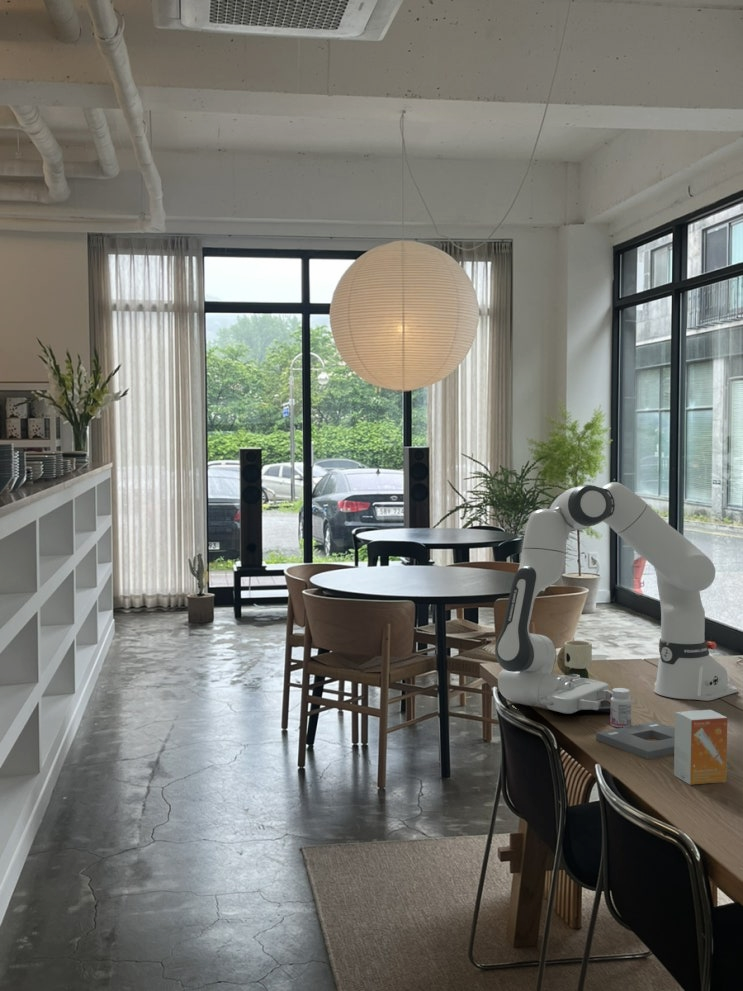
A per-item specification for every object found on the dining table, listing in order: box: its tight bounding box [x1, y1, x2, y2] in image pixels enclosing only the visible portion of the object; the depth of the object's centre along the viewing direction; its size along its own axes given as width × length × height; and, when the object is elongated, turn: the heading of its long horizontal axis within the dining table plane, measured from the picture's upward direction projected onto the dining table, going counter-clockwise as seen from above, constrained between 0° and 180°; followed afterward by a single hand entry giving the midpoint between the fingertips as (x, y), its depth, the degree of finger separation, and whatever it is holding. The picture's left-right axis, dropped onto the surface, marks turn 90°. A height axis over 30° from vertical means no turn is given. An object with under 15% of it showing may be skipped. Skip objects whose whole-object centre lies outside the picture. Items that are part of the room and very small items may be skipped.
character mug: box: [564, 640, 593, 679], centre depth 266 cm, size 11×7×13 cm, turn 171°
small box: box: [673, 709, 728, 786], centre depth 196 cm, size 8×6×13 cm
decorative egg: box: [556, 643, 570, 675], centre depth 284 cm, size 7×7×10 cm
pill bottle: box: [609, 687, 632, 728], centre depth 233 cm, size 5×5×8 cm
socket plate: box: [595, 721, 675, 760], centre depth 219 cm, size 18×16×2 cm
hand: (608, 701), depth 235 cm, fingers open, 8 cm apart
